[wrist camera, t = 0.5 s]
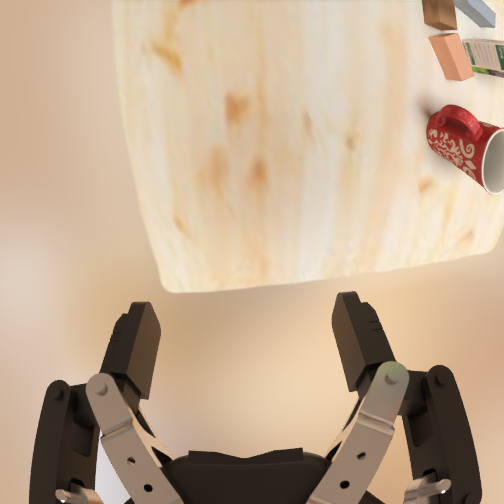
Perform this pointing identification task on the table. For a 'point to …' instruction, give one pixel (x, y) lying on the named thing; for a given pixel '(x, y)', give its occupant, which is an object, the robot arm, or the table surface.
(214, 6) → the table surface
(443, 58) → the terracotta brick
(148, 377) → the robot arm
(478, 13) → the slate-blue brick
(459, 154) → the mug
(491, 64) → the syrup box
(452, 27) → the walnut brick
